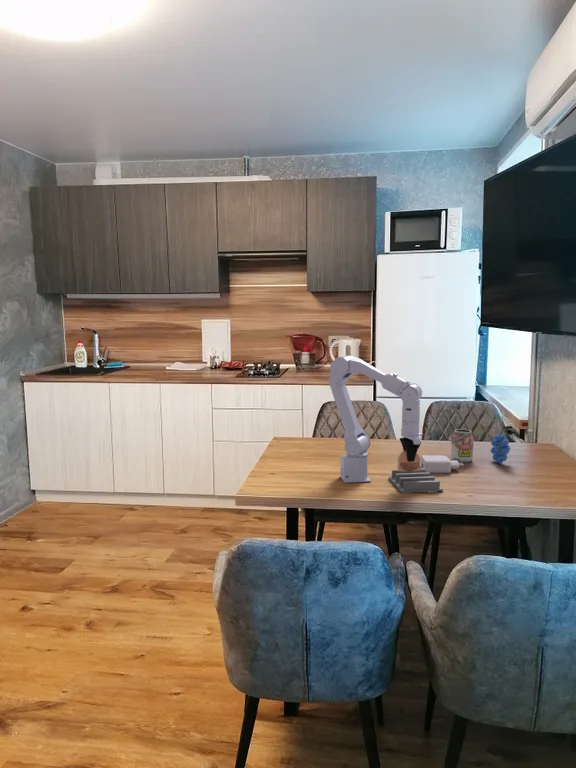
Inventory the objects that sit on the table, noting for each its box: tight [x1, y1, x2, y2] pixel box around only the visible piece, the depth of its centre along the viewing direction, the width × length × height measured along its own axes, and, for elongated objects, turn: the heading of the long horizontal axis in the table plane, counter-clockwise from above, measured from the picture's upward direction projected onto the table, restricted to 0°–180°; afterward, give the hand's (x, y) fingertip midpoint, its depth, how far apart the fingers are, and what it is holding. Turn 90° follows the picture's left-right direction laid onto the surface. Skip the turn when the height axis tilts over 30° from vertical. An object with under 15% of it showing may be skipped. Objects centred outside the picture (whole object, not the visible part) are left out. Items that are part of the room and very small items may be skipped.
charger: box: [420, 454, 465, 474], centre depth 205 cm, size 5×9×15 cm
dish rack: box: [388, 468, 444, 494], centre depth 188 cm, size 14×15×4 cm
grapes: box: [490, 433, 511, 465], centre depth 212 cm, size 12×7×12 cm, turn 6°
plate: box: [397, 450, 421, 472], centre depth 185 cm, size 7×2×7 cm, turn 95°
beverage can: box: [448, 428, 475, 464], centre depth 217 cm, size 9×8×12 cm
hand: (409, 460), depth 185 cm, fingers closed on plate, 2 cm apart
